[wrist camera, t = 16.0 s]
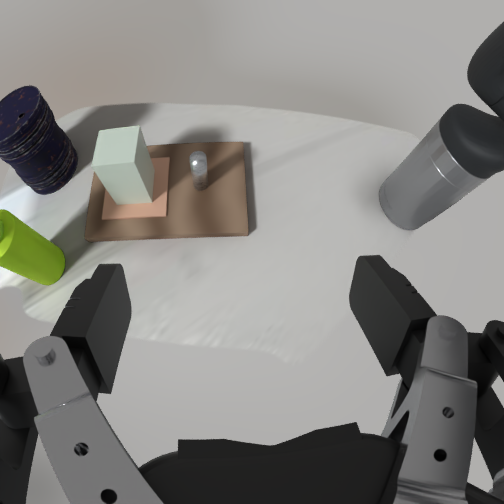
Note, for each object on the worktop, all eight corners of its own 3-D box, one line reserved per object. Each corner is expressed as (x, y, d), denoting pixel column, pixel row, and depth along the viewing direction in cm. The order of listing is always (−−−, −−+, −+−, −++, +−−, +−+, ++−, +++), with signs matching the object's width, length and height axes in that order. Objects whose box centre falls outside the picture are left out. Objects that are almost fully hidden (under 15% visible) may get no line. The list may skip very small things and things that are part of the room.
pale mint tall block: (154, 170, 41) (139, 125, 31) (152, 202, 40) (134, 162, 30) (120, 173, 40) (99, 130, 31) (117, 204, 39) (91, 166, 30)
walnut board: (242, 147, 45) (243, 141, 44) (247, 235, 41) (248, 232, 40) (101, 156, 43) (98, 150, 42) (88, 241, 39) (84, 238, 38)
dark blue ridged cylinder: (19, 184, 41) (-28, 136, 26) (51, 138, 43) (14, 82, 29) (56, 203, 40) (6, 151, 26) (89, 151, 43) (54, 89, 29)
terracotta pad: (169, 158, 42) (169, 157, 42) (166, 216, 40) (165, 215, 39) (110, 163, 41) (110, 162, 41) (102, 219, 39) (101, 219, 38)
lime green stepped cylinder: (35, 240, 38) (-49, 179, 19) (70, 249, 39) (-15, 183, 19) (24, 278, 37) (-69, 232, 17) (59, 289, 37) (-38, 245, 18)
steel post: (208, 177, 42) (206, 150, 35) (208, 190, 41) (206, 164, 35) (193, 178, 41) (189, 151, 35) (193, 191, 41) (189, 165, 35)
